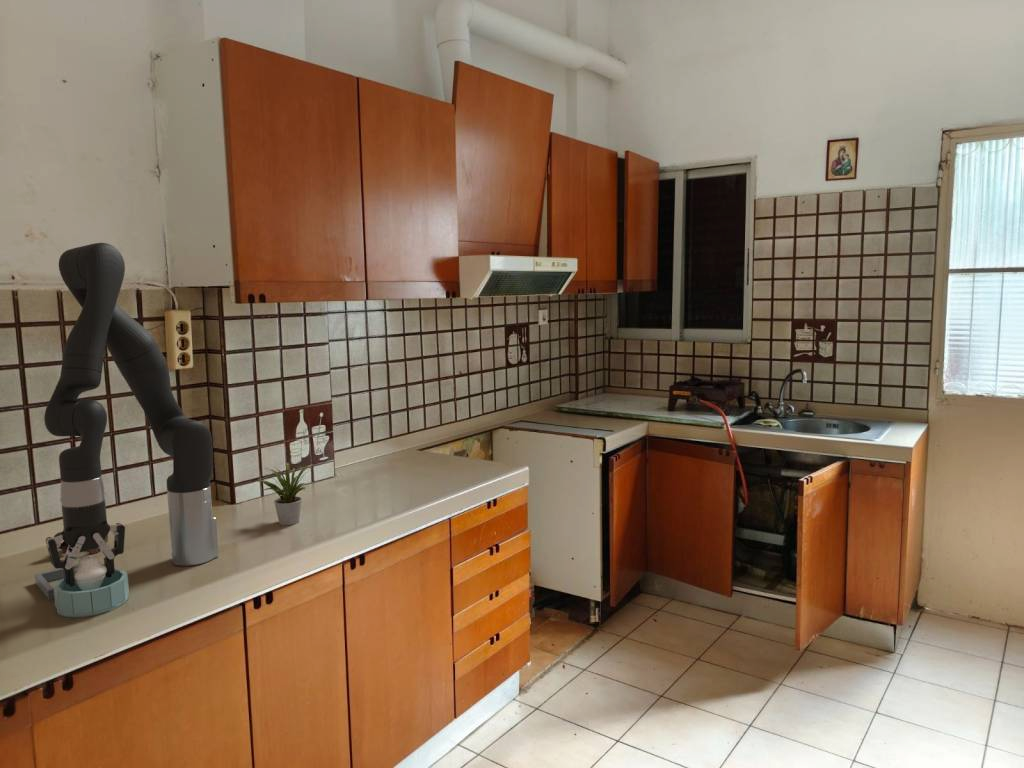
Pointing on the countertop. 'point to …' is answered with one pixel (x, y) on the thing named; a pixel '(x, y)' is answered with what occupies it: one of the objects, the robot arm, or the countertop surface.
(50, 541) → the robot arm
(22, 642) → the countertop surface
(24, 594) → the countertop surface
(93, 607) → the bowl
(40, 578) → the square frame
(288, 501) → the house plant
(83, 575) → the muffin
